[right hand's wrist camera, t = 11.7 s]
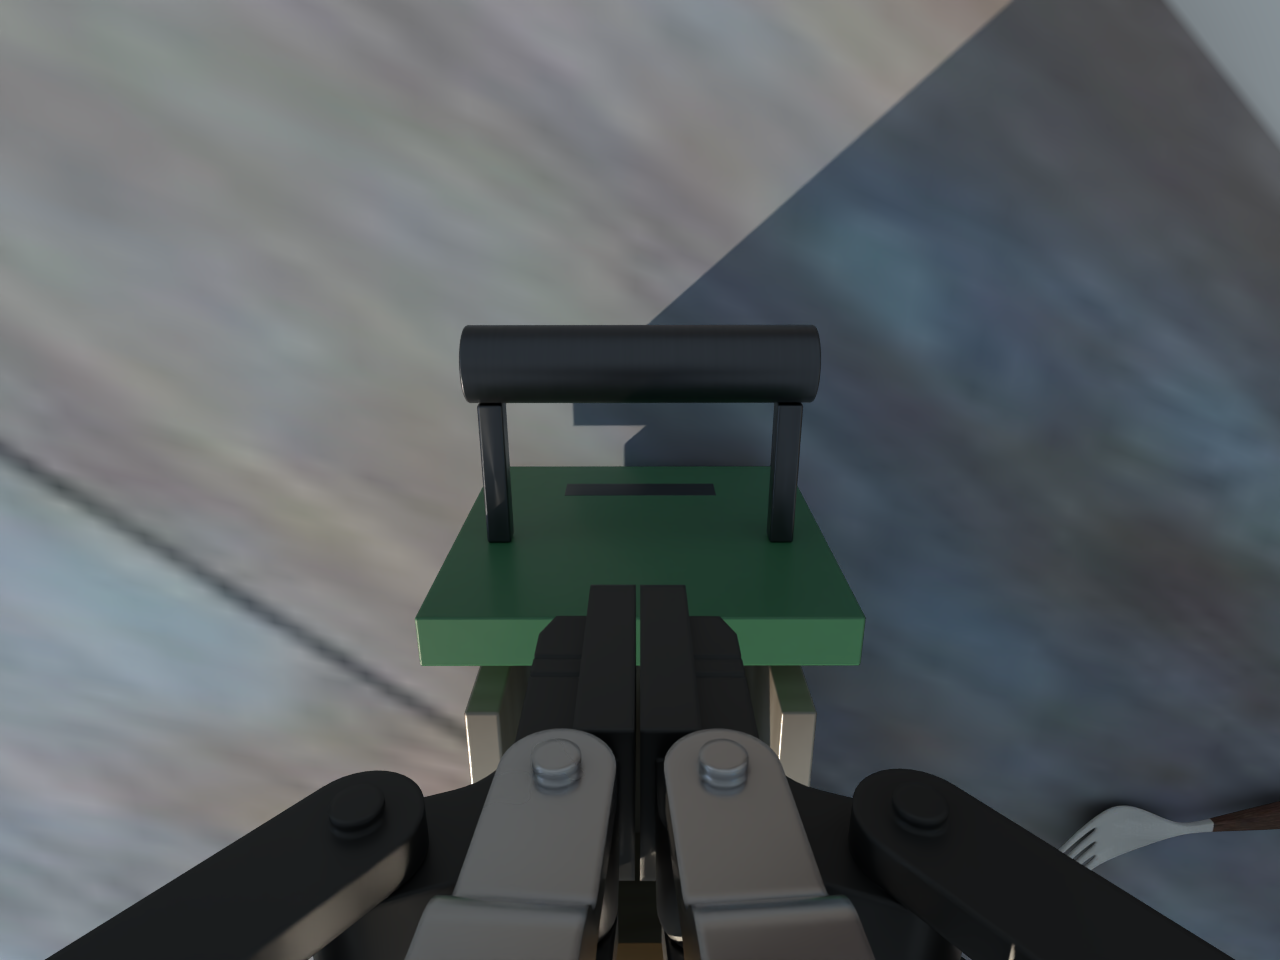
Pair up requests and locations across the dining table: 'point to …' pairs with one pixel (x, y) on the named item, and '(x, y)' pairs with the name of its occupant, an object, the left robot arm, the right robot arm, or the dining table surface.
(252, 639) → the dining table surface
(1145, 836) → the fork
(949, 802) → the right robot arm
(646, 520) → the drawer
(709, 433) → the dining table surface
